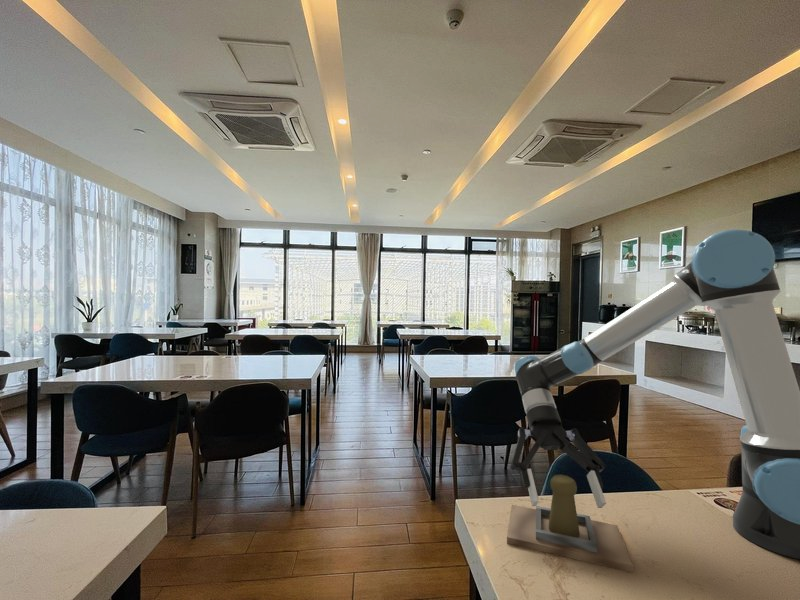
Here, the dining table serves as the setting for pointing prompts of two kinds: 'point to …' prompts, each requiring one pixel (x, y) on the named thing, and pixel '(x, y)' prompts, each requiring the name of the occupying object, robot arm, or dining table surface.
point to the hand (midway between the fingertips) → (568, 504)
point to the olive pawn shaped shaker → (563, 506)
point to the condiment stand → (569, 538)
